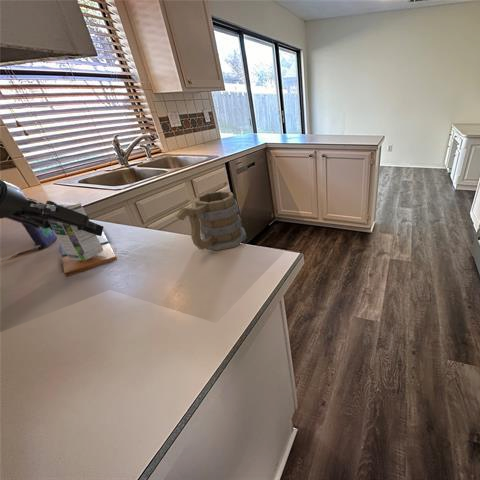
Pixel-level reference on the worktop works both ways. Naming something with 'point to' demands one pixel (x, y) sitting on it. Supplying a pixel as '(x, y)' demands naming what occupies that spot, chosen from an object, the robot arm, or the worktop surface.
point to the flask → (41, 235)
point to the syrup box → (76, 237)
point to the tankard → (215, 221)
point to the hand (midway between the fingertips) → (88, 231)
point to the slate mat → (101, 239)
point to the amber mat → (88, 261)
